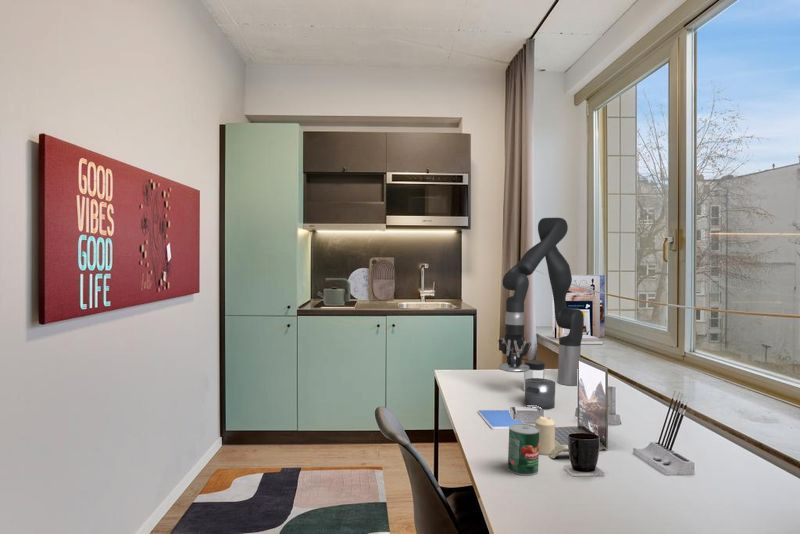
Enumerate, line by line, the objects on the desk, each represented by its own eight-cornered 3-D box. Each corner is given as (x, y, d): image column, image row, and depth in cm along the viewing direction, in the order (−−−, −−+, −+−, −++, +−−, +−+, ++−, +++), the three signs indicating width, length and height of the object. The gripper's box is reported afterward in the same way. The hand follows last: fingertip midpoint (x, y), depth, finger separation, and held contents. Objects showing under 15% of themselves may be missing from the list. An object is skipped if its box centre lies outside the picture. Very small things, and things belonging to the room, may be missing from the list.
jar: (548, 391, 223) (549, 362, 223) (536, 394, 218) (537, 365, 218) (530, 387, 230) (531, 359, 230) (518, 389, 225) (519, 361, 225)
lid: (507, 364, 224) (507, 349, 224) (534, 368, 217) (534, 353, 216) (493, 369, 215) (493, 354, 214) (521, 373, 207) (521, 358, 207)
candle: (554, 449, 157) (555, 415, 156) (553, 456, 151) (554, 421, 151) (535, 447, 158) (536, 413, 158) (533, 453, 153) (534, 418, 153)
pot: (534, 398, 212) (535, 375, 212) (561, 404, 205) (562, 380, 205) (516, 406, 200) (517, 382, 199) (544, 412, 193) (545, 387, 193)
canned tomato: (533, 478, 136) (535, 435, 136) (503, 471, 140) (504, 429, 140) (541, 467, 143) (543, 426, 143) (512, 461, 147) (514, 421, 147)
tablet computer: (476, 413, 193) (476, 409, 193) (510, 412, 194) (511, 409, 194) (491, 431, 173) (491, 427, 173) (529, 430, 175) (529, 426, 175)
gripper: (535, 323, 213) (534, 366, 214) (503, 320, 222) (502, 361, 223) (527, 325, 208) (526, 370, 208) (494, 322, 216) (493, 364, 217)
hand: (514, 365), depth 216 cm, fingers closed on lid, 3 cm apart
